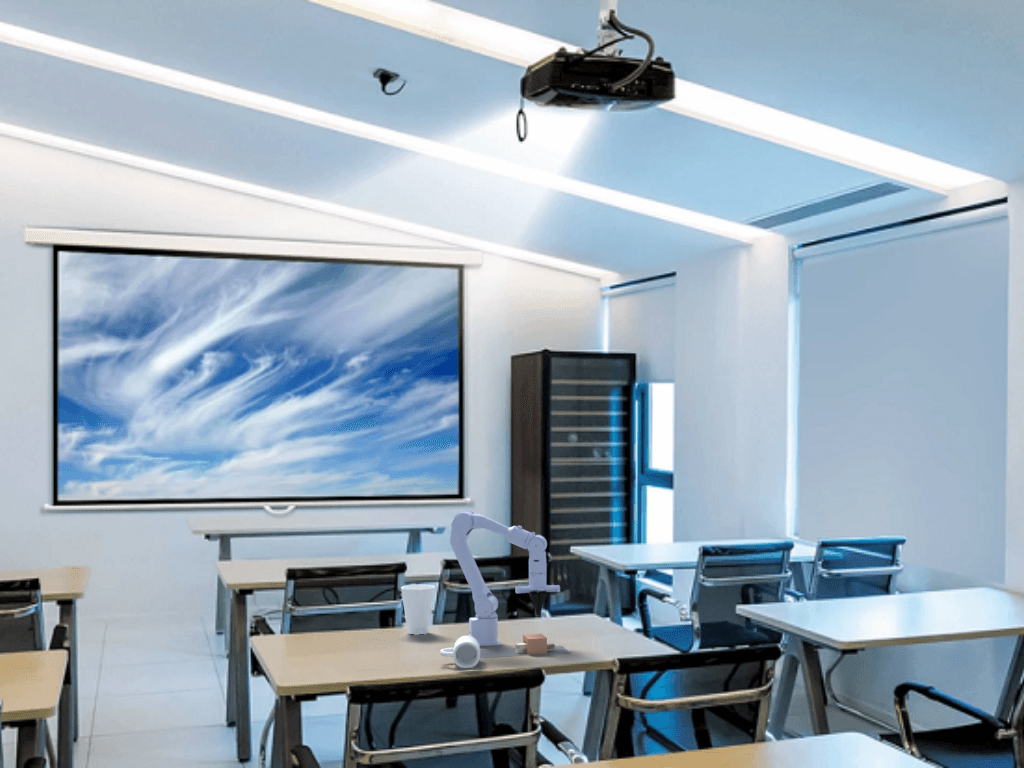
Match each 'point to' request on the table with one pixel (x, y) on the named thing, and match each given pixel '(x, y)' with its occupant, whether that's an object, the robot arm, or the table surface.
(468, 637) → the mug
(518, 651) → the cream rectangular block
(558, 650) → the felt mat
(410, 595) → the cup
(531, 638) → the salmon orange block
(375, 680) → the table surface
